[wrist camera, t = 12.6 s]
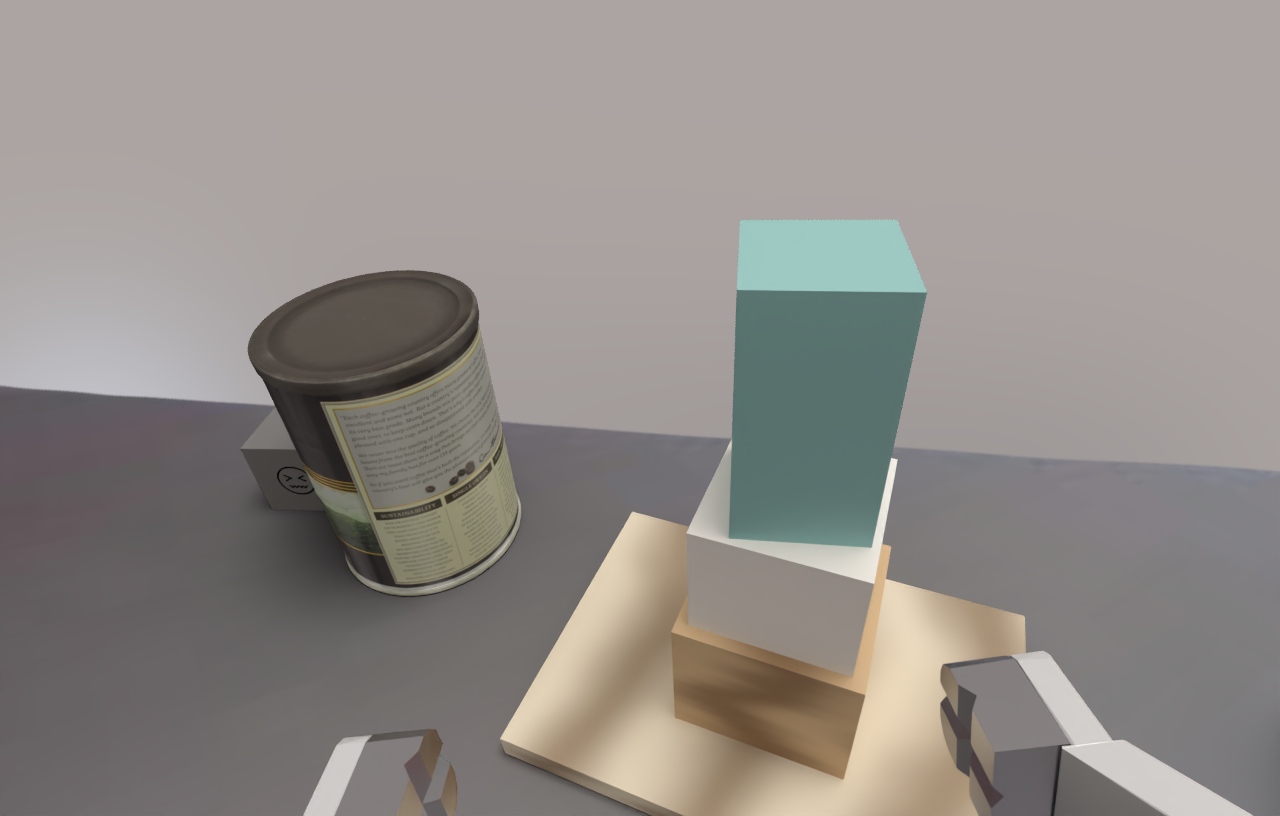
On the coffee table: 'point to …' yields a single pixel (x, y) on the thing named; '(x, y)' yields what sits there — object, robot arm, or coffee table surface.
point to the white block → (780, 585)
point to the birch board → (718, 765)
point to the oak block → (773, 691)
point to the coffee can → (395, 425)
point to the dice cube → (279, 467)
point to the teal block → (819, 376)
